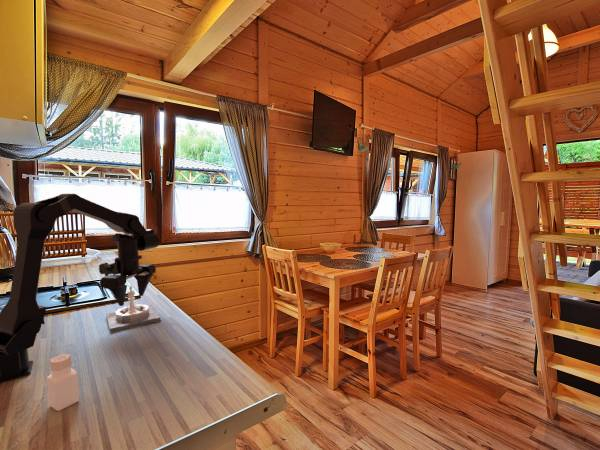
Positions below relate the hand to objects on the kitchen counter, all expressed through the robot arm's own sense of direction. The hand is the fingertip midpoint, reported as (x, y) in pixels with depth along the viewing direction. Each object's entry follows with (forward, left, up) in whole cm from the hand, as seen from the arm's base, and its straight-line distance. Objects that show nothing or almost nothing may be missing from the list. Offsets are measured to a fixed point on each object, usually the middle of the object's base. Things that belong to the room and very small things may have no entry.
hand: (131, 300), depth 101 cm
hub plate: (0, 0, -6) cm, 6 cm away
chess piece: (0, 0, -5) cm, 5 cm away
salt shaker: (-38, +17, -6) cm, 42 cm away
